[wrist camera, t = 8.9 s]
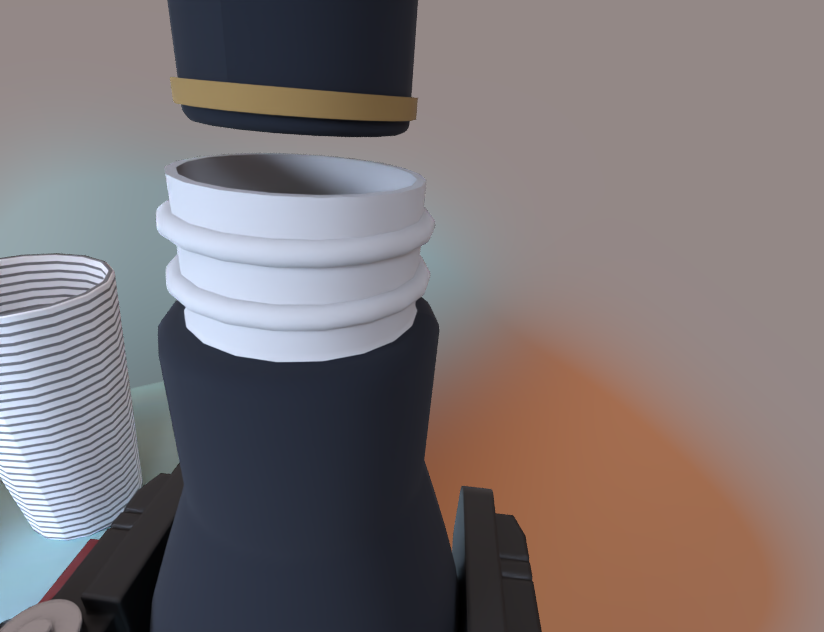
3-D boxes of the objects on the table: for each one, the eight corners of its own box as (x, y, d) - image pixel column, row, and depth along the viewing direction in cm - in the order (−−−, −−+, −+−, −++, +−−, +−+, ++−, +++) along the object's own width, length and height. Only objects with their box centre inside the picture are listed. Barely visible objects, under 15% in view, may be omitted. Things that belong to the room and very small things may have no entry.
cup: (179, 450, 34) (137, 253, 27) (138, 553, 27) (67, 318, 20) (51, 458, 32) (-28, 251, 26) (-30, 570, 25) (-172, 321, 18)
